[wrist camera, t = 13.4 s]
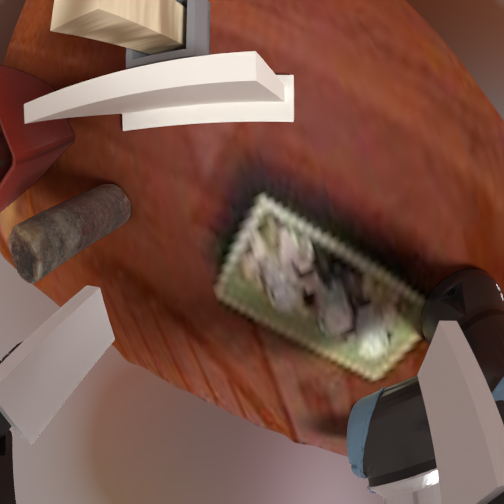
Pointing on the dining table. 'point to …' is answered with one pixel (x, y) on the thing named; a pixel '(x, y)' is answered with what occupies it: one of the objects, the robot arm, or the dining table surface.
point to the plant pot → (26, 135)
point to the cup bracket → (178, 86)
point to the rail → (124, 23)
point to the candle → (66, 230)
